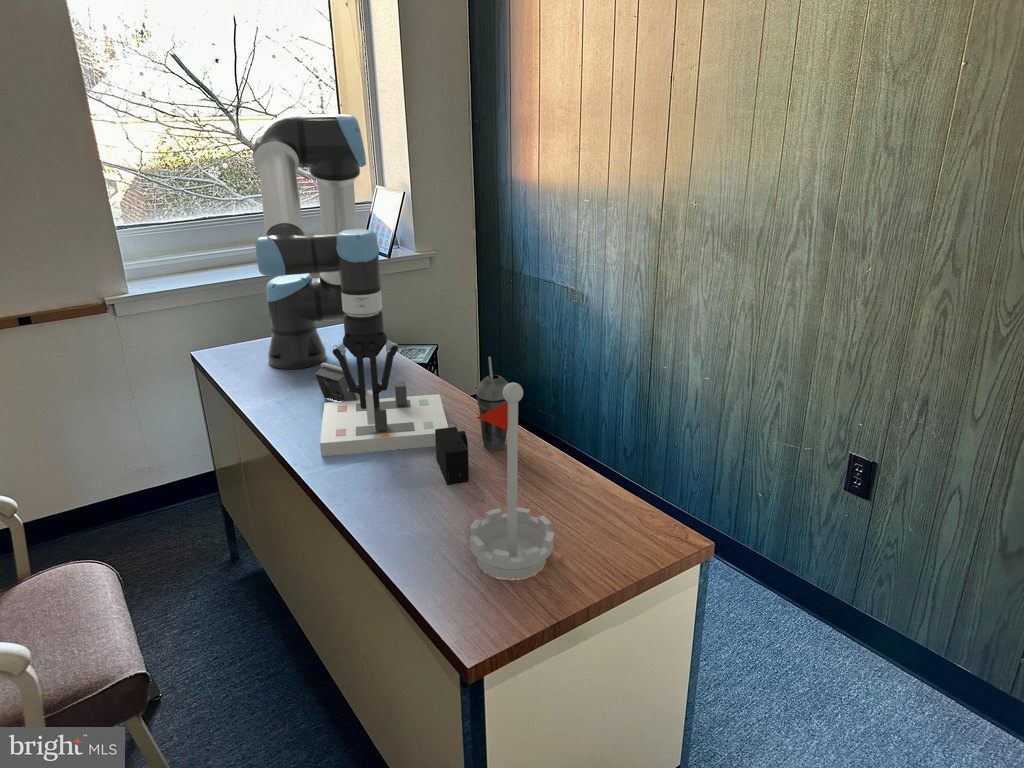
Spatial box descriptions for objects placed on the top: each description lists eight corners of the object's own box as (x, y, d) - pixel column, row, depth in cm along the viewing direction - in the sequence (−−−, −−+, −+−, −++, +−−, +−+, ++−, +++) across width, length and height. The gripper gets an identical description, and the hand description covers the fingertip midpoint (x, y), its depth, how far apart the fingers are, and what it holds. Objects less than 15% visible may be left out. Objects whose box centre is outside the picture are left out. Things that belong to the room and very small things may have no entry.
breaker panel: (325, 414, 158) (324, 402, 157) (439, 405, 163) (439, 393, 162) (321, 456, 140) (319, 442, 139) (450, 445, 145) (449, 431, 144)
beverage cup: (518, 445, 145) (519, 355, 137) (494, 457, 140) (494, 364, 132) (493, 434, 149) (493, 346, 142) (469, 445, 144) (467, 355, 137)
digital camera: (475, 481, 131) (474, 448, 129) (447, 485, 130) (446, 452, 127) (462, 456, 140) (462, 425, 138) (436, 460, 139) (435, 428, 136)
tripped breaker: (375, 423, 146) (373, 404, 144) (386, 422, 146) (385, 403, 144) (375, 430, 143) (374, 411, 141) (387, 429, 143) (386, 410, 141)
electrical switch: (361, 402, 165) (355, 367, 160) (346, 411, 161) (339, 375, 157) (333, 393, 169) (327, 359, 165) (318, 402, 166) (310, 367, 161)
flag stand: (545, 532, 116) (550, 364, 105) (560, 582, 104) (567, 399, 93) (467, 537, 115) (464, 368, 103) (473, 588, 103) (469, 404, 91)
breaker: (395, 399, 157) (394, 381, 156) (406, 398, 158) (405, 380, 156) (396, 405, 154) (395, 386, 153) (407, 404, 155) (406, 386, 153)
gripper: (327, 319, 130) (338, 432, 139) (397, 315, 132) (404, 427, 141) (329, 308, 137) (339, 416, 146) (395, 304, 139) (402, 411, 148)
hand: (371, 421), depth 143 cm, fingers closed
